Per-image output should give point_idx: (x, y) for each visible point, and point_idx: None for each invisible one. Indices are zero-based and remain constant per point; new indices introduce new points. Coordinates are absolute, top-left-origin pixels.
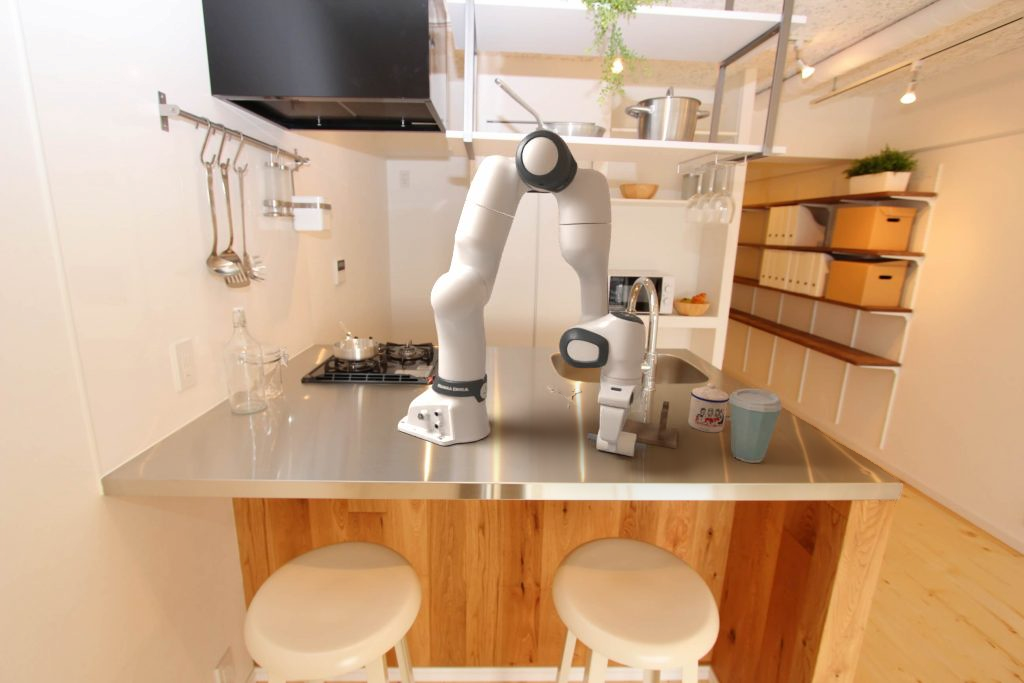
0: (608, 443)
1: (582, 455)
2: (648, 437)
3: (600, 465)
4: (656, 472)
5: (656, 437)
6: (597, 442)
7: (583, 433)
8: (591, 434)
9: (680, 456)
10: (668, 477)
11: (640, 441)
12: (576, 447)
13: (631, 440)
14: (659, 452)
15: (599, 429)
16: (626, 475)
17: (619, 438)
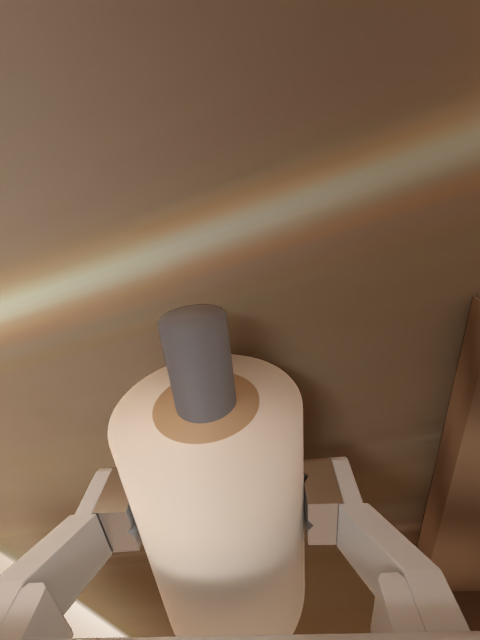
0: (69, 520)
1: (47, 296)
2: (456, 563)
3: (14, 416)
4: (136, 586)
5: (470, 586)
6: (115, 417)
7: (449, 174)
8: (180, 365)
9: (330, 626)
10: (126, 612)
11: (425, 517)
12: (136, 214)
13: (175, 632)
14: (332, 579)
15: (167, 486)
16: (21, 518)
17: (159, 582)
